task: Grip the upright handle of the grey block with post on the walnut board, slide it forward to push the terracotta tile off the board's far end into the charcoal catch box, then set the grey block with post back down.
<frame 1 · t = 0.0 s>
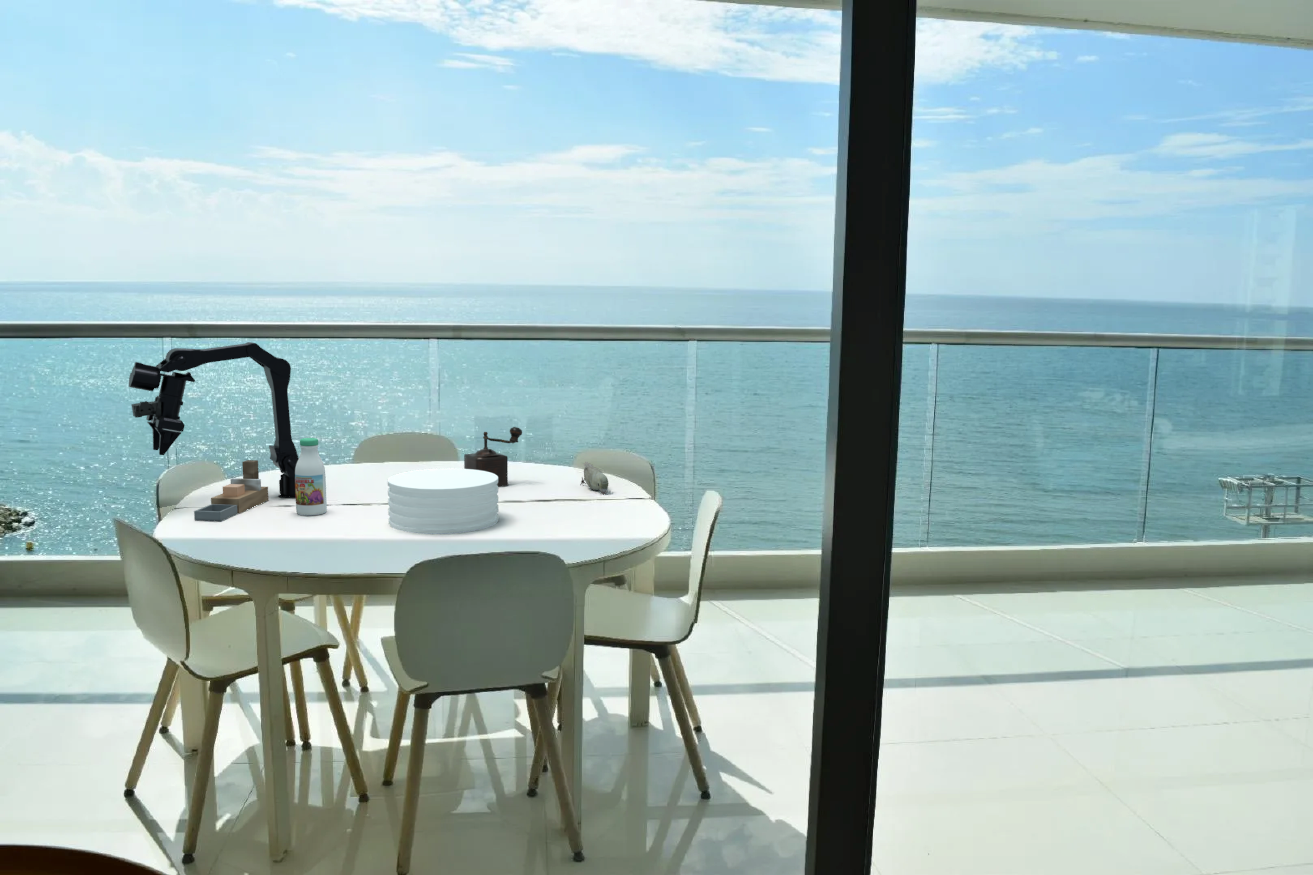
hand: (158, 452, 264), 15 cm above the table, tool pointing down, fingers open, 9 cm apart
grey block with post: (246, 489, 273), point 4 cm above the table, touching walnut board
catch box: (216, 517, 258), on the table
manual coffee grinder: (494, 484, 307), on the table
milk bottle: (311, 513, 265), on the table
decorative bird: (595, 490, 302), on the table
walnut board: (240, 506, 271), on the table
plate stack: (444, 522, 259), on the table
terracotta tile: (234, 494, 267), point 4 cm above the table, touching walnut board
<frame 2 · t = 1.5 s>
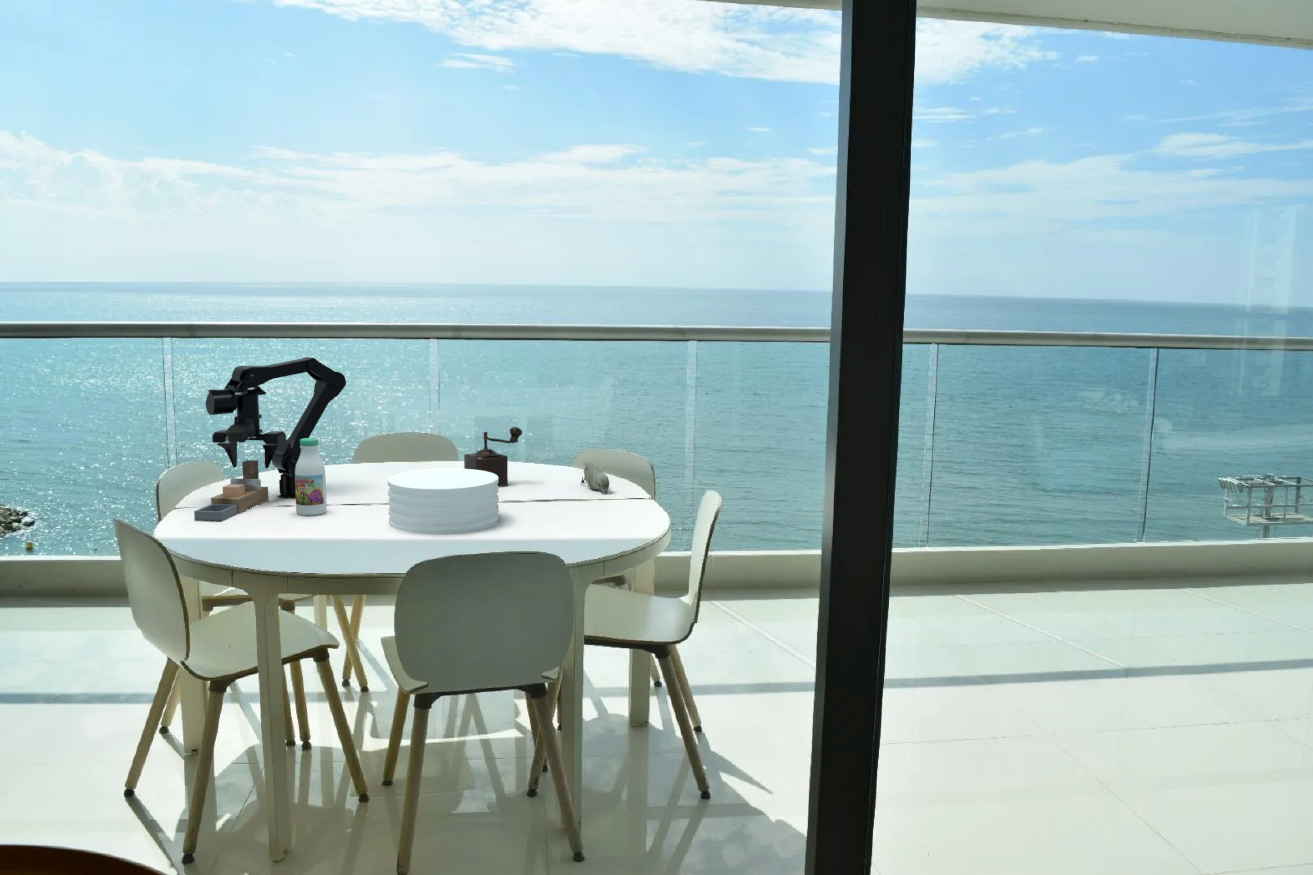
hand: (250, 467, 276), 10 cm above the table, tool pointing down, fingers open, 9 cm apart
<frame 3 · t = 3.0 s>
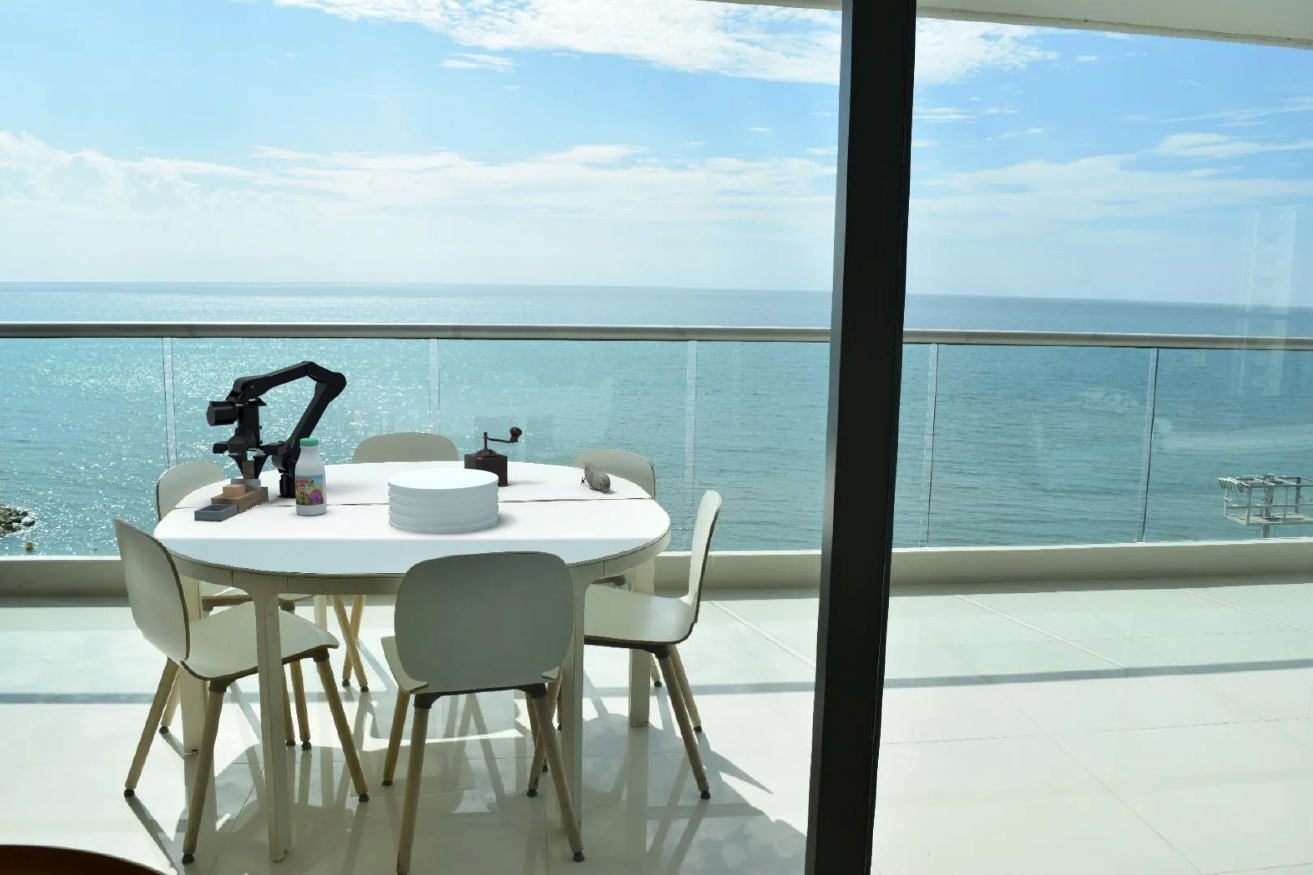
hand: (251, 478, 276), 7 cm above the table, tool pointing down, fingers closed on grey block with post, 3 cm apart
grey block with post: (246, 489, 273), point 4 cm above the table, touching gripper, walnut board
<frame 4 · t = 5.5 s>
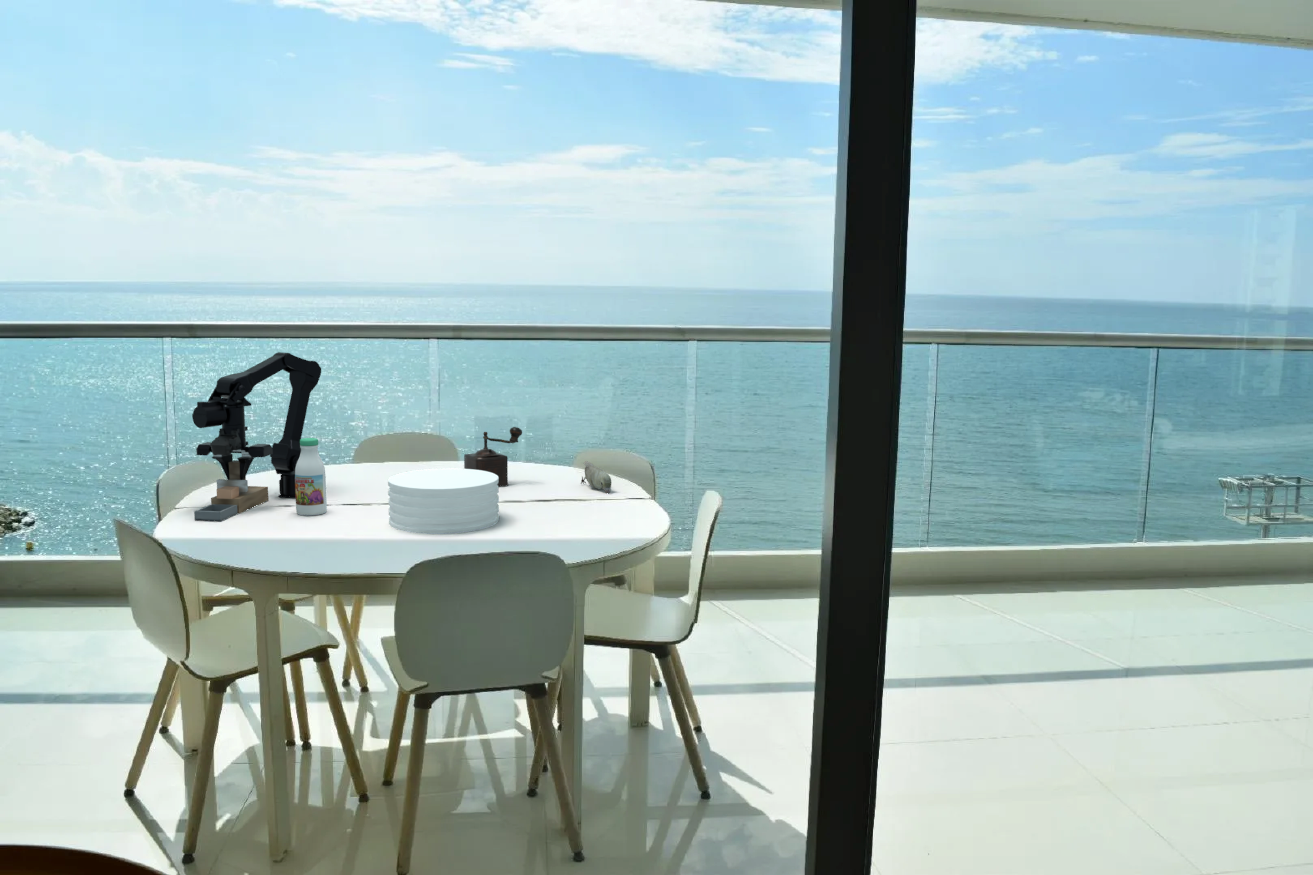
hand: (236, 481, 268), 7 cm above the table, tool pointing down, fingers closed on grey block with post, 3 cm apart
grey block with post: (232, 491, 266), point 5 cm above the table, touching gripper, terracotta tile
terracotta tile: (228, 497, 264), point 4 cm above the table, touching grey block with post
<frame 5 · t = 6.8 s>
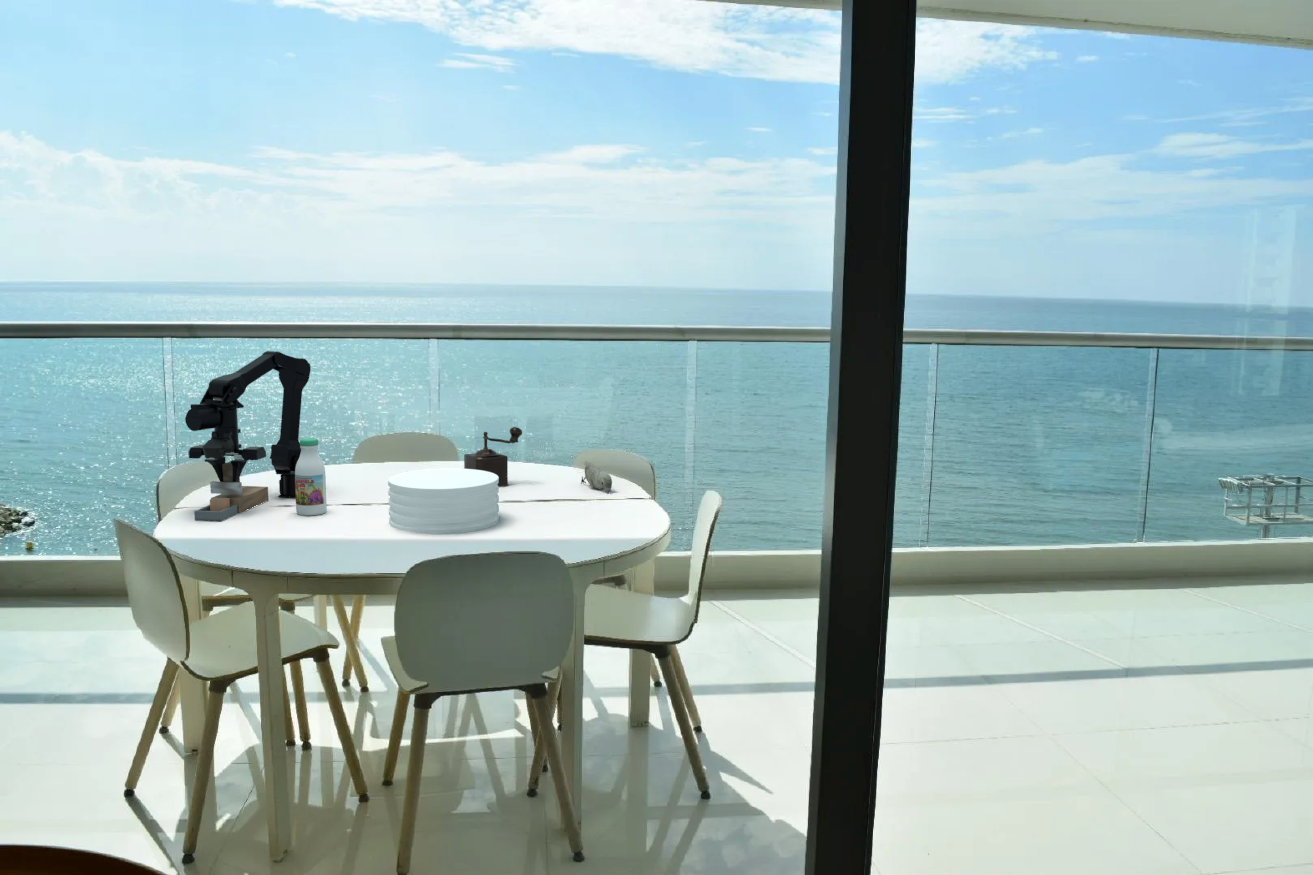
hand: (229, 484, 264), 7 cm above the table, tool pointing down, fingers closed on grey block with post, 3 cm apart
grey block with post: (226, 493, 263), point 5 cm above the table, touching gripper
terracotta tile: (222, 505, 261), point 2 cm above the table, tilted 90°, touching catch box
when the fingers open (7 cm above the table, at t = 9.2 s): grey block with post stays where it is, resting on walnut board.
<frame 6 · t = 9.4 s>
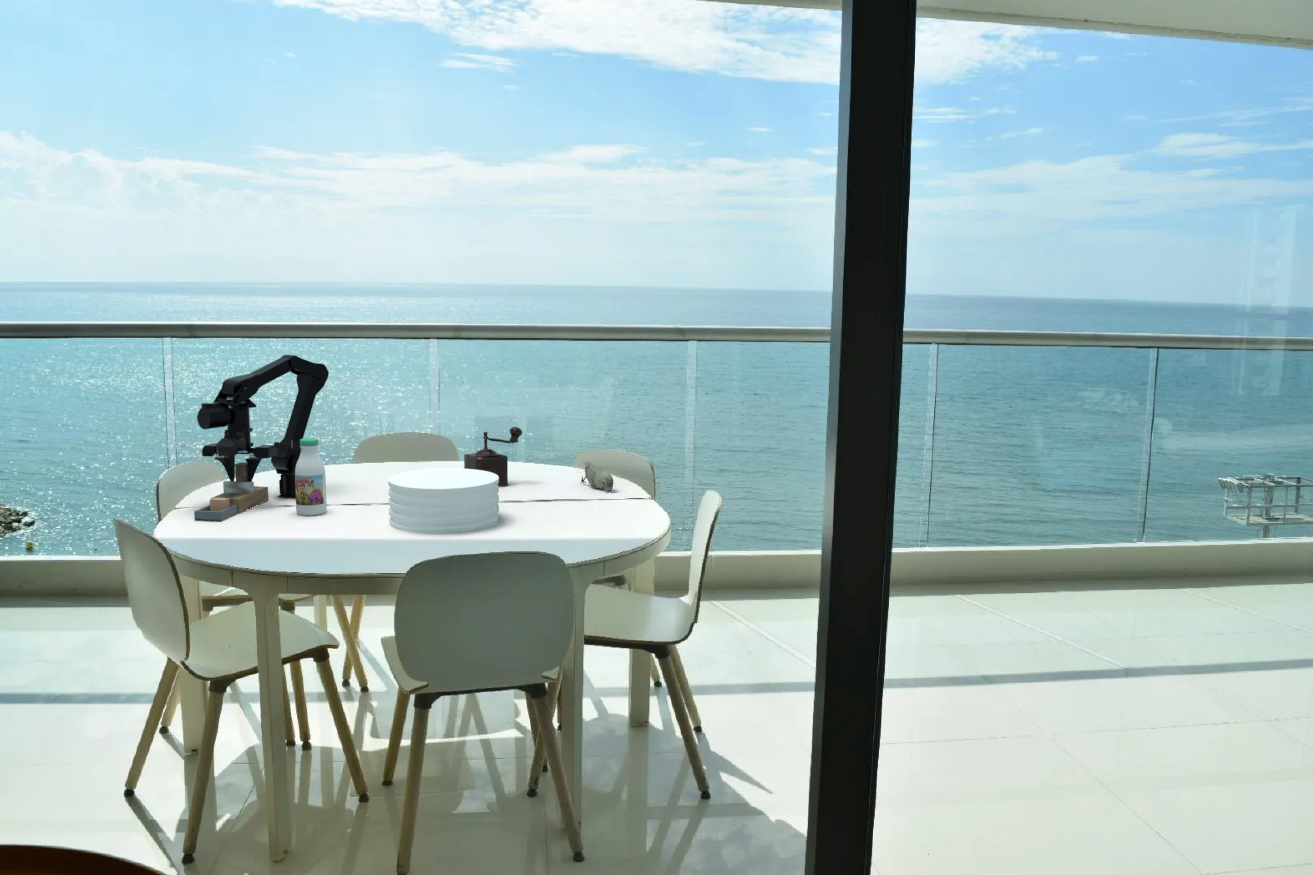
hand: (241, 481, 271), 7 cm above the table, tool pointing down, fingers open, 5 cm apart
grey block with post: (238, 492, 270), point 4 cm above the table, touching walnut board
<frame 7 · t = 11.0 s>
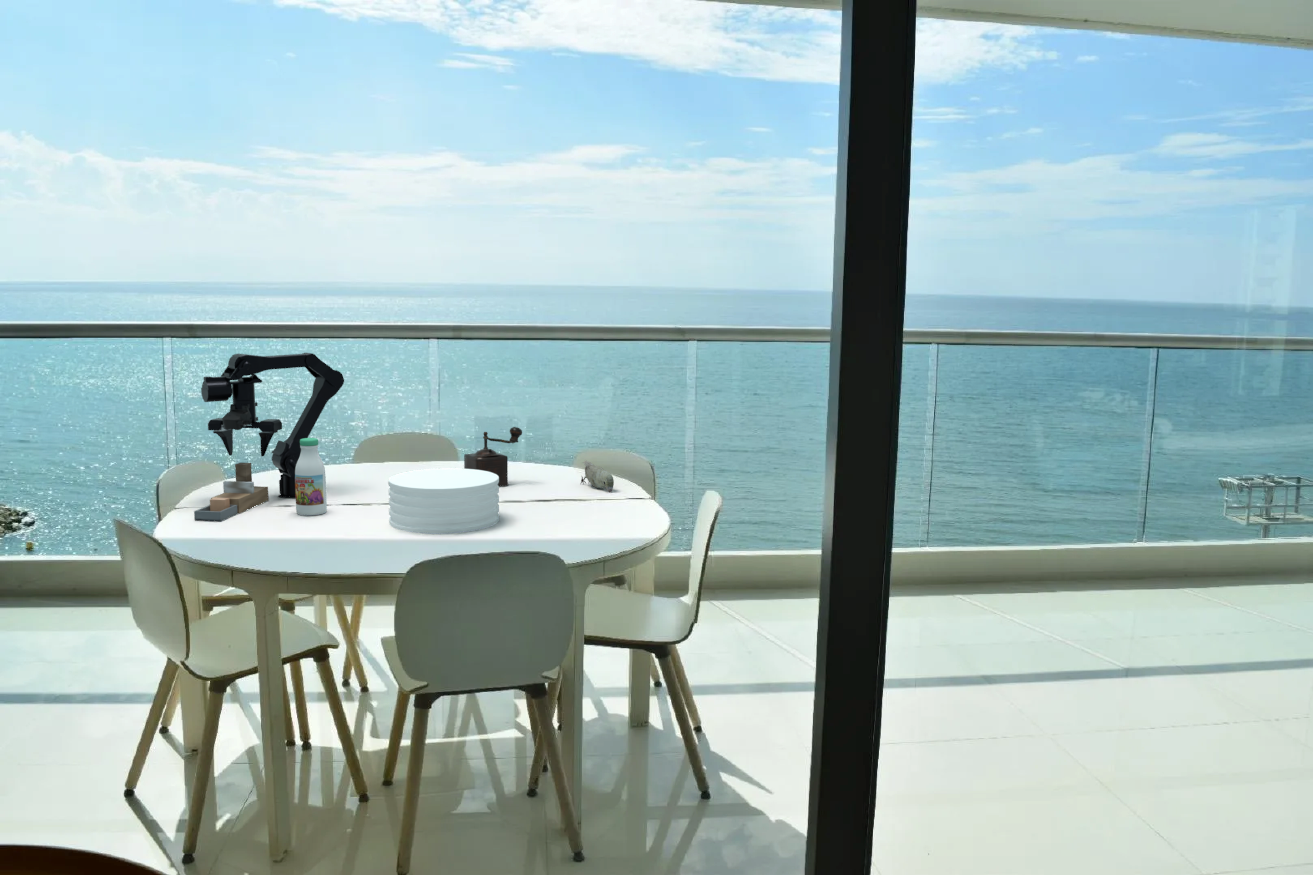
hand: (246, 455, 275), 13 cm above the table, tool pointing down, fingers open, 9 cm apart
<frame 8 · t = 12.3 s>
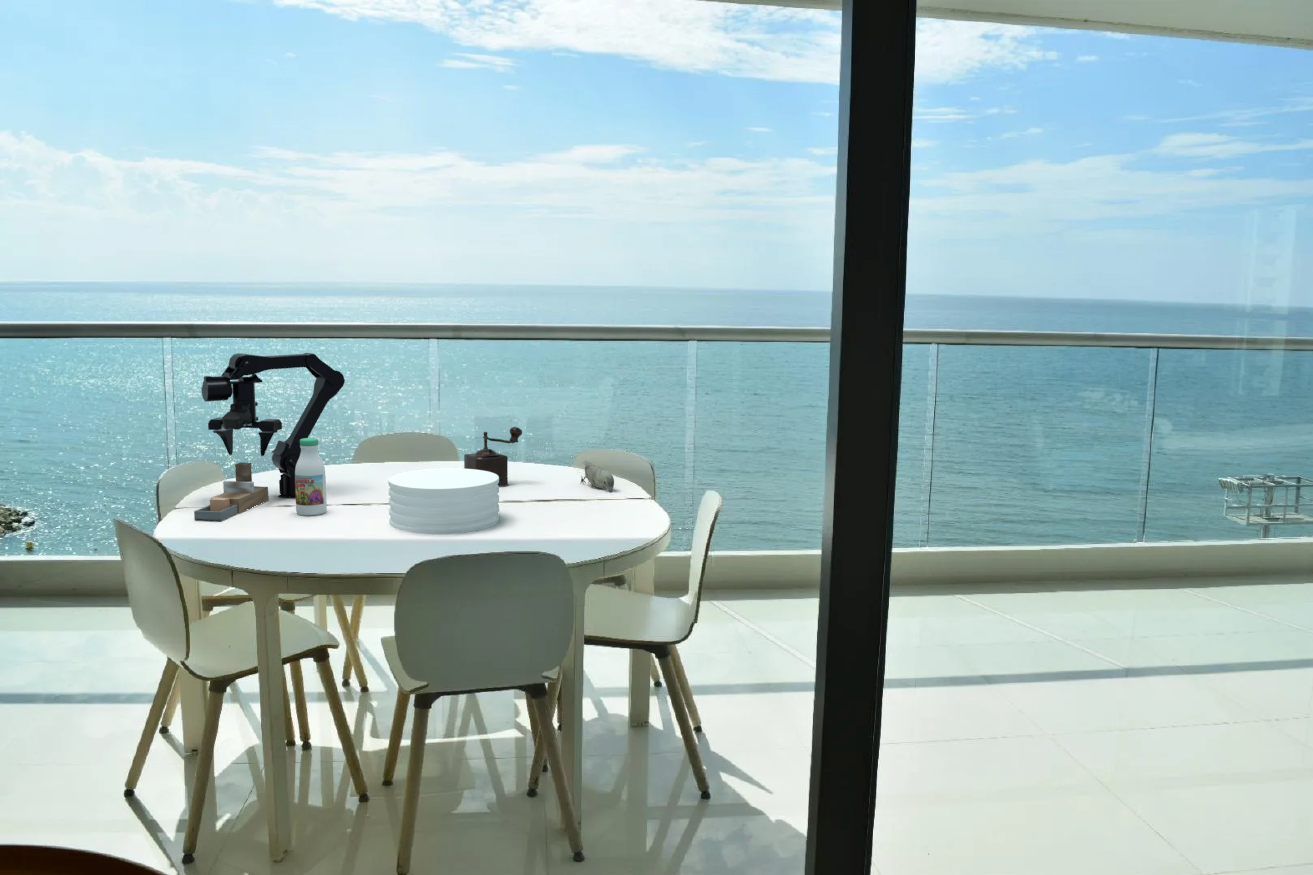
hand: (246, 455, 276), 13 cm above the table, tool pointing down, fingers open, 9 cm apart
at the end: terracotta tile 3.3 cm off-centre on the catch box, point 2.5 cm above the catch box's base; grey block with post tilted 0°; the gripper is holding nothing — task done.
